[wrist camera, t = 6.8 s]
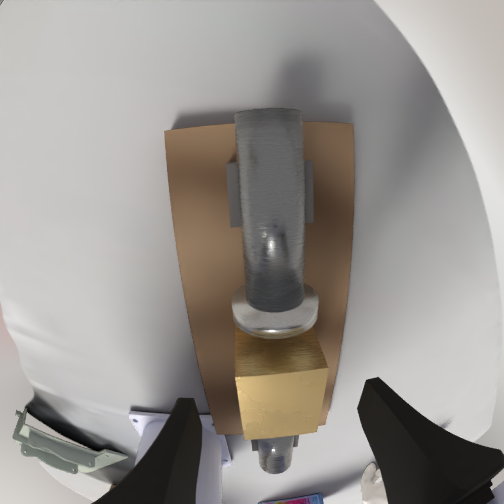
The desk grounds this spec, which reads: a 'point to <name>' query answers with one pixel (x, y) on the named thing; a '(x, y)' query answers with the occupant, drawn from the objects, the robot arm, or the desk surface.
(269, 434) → the block
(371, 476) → the white sculpted piece
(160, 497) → the robot arm
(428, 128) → the desk surface
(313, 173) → the stand
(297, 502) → the ink cartridge box
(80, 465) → the metal bracket
